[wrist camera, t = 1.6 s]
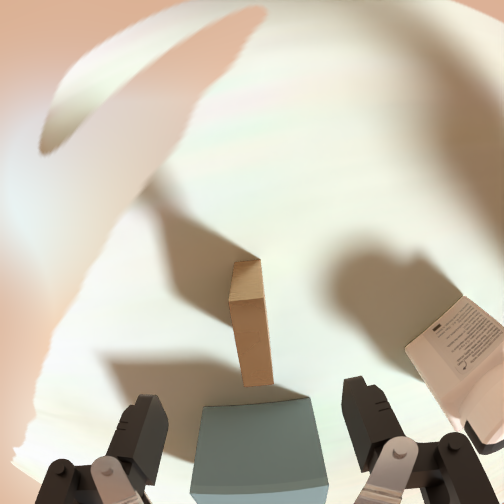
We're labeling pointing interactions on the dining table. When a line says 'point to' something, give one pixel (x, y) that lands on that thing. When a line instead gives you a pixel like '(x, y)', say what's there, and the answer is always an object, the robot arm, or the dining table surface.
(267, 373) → the block
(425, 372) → the container
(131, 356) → the dining table surface
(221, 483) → the coin box
